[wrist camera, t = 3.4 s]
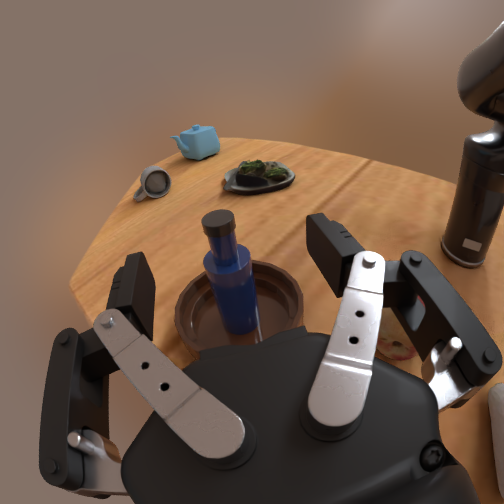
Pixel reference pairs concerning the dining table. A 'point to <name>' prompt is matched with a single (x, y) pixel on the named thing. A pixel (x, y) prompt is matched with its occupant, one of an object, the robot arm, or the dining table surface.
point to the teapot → (198, 142)
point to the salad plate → (258, 177)
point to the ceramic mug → (153, 183)
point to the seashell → (498, 429)
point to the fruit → (394, 337)
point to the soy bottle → (230, 274)
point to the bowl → (208, 319)
